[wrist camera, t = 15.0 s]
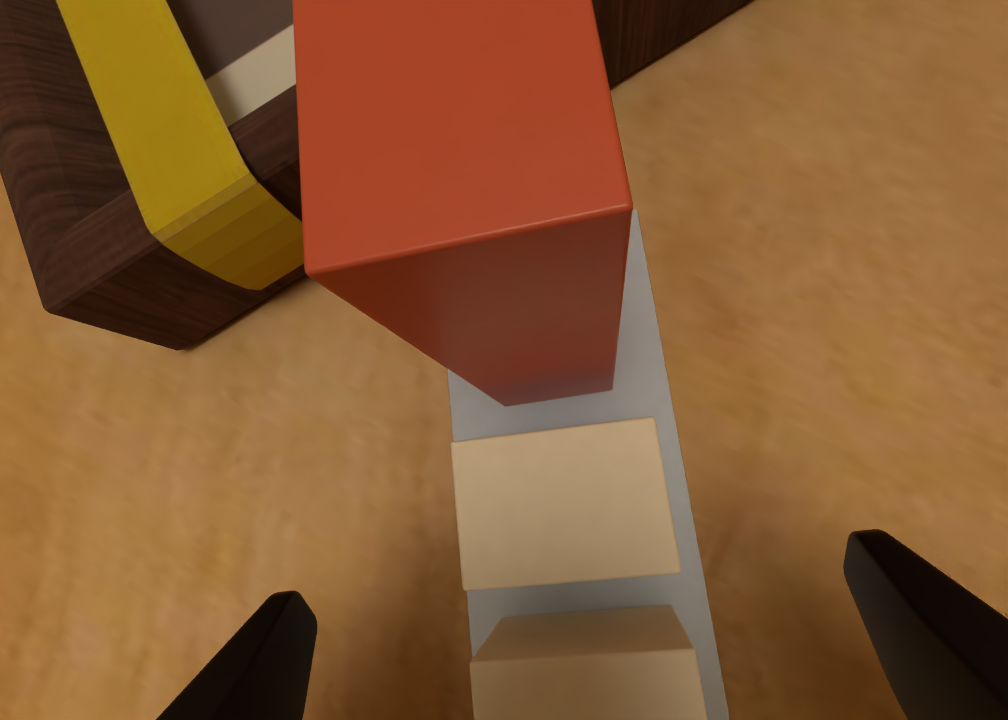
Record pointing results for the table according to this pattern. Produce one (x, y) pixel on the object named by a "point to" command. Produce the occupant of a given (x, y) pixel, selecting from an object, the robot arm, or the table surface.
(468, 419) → the blocks on base plate
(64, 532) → the table surface
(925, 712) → the robot arm
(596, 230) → the orange upright bar
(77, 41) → the picture frame
